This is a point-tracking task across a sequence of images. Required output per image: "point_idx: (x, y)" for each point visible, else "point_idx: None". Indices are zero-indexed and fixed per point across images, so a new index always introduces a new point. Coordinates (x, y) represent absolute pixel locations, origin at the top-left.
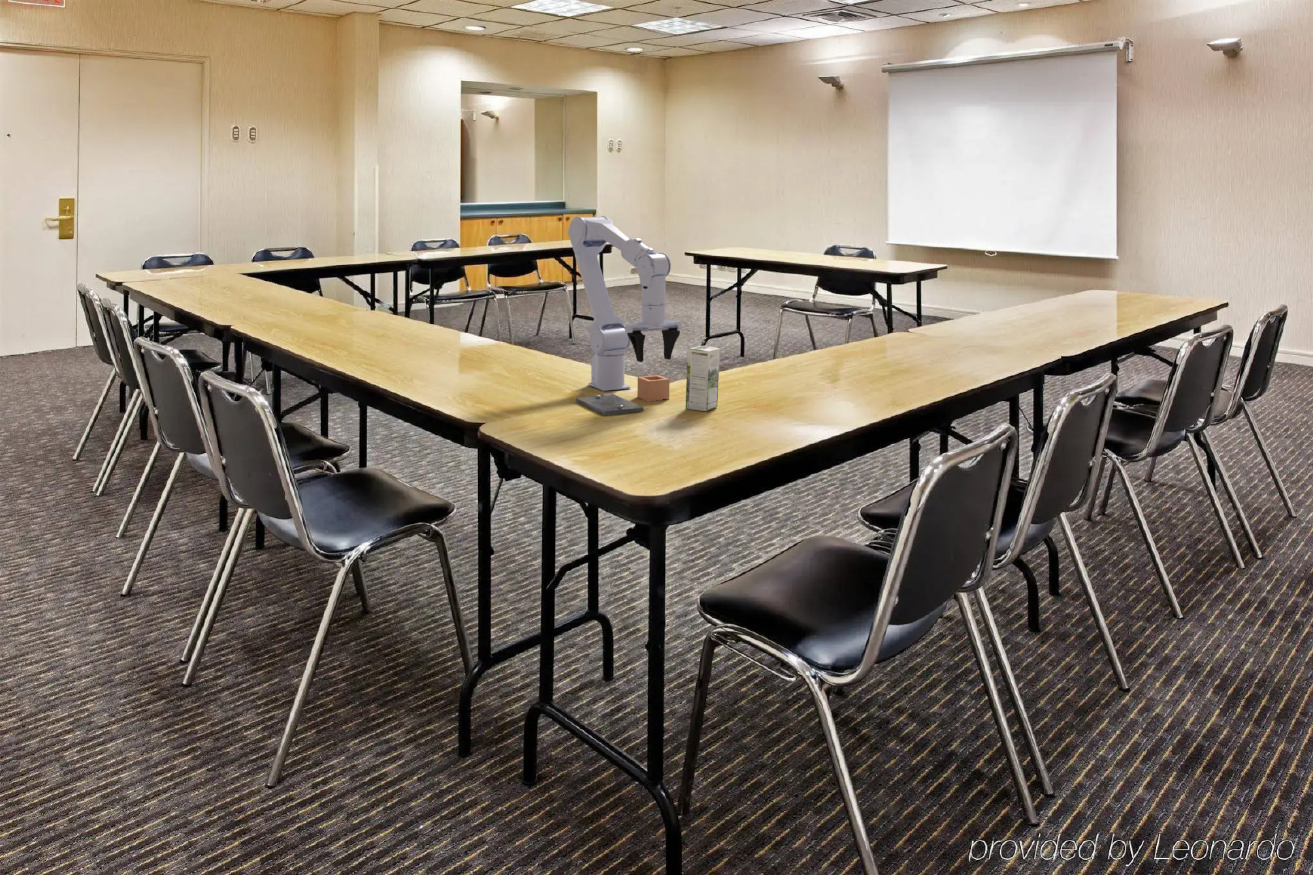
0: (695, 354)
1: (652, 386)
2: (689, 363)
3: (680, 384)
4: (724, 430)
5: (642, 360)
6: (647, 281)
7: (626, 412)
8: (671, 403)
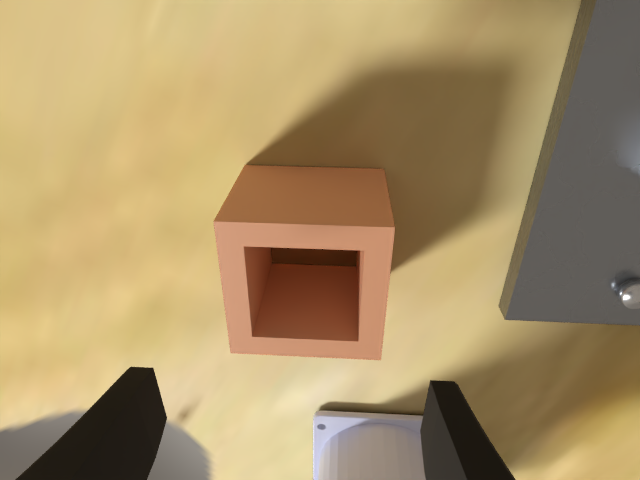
0: None
1: (359, 206)
2: None
3: (71, 392)
4: None
5: (441, 389)
6: None
7: None
8: (282, 57)
